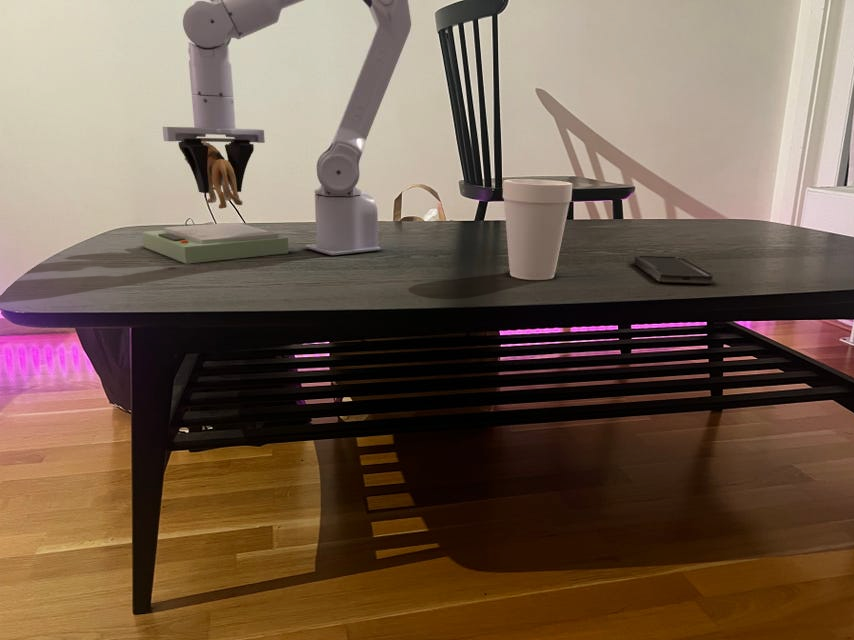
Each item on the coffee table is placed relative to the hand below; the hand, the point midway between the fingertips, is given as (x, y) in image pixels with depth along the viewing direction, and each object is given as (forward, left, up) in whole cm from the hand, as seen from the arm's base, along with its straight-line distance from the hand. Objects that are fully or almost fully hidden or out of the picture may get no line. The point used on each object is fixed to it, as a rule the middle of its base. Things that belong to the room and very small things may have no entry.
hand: (220, 192), depth 106 cm
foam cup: (-27, +40, -9) cm, 49 cm away
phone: (-46, +51, -9) cm, 69 cm away
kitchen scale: (+1, -1, -9) cm, 9 cm away
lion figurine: (0, 0, -2) cm, 2 cm away
